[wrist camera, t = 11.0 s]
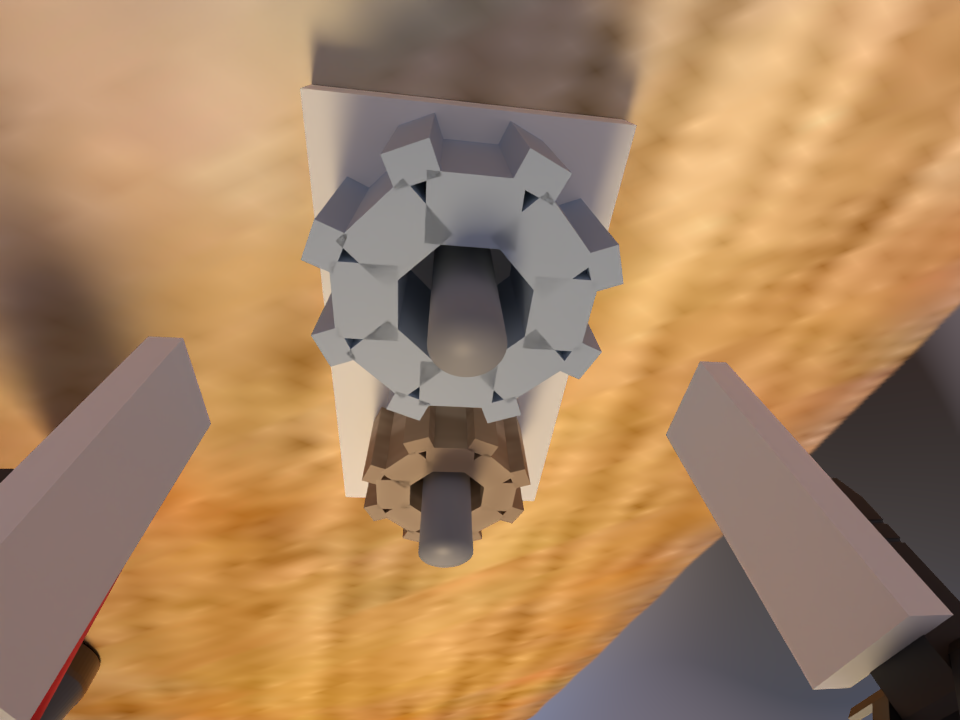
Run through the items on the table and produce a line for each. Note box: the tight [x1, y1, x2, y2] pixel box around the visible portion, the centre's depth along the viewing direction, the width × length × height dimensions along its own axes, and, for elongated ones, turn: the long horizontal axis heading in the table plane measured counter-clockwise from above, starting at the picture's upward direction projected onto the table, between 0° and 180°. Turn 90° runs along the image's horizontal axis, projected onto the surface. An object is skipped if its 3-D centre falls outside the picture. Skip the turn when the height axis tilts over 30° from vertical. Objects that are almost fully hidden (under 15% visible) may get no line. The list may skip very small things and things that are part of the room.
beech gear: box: [362, 406, 531, 542], centre depth 24 cm, size 8×8×4 cm
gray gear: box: [301, 113, 623, 423], centre depth 17 cm, size 10×10×5 cm
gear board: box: [300, 85, 637, 568], centre depth 20 cm, size 12×22×8 cm, turn 174°
